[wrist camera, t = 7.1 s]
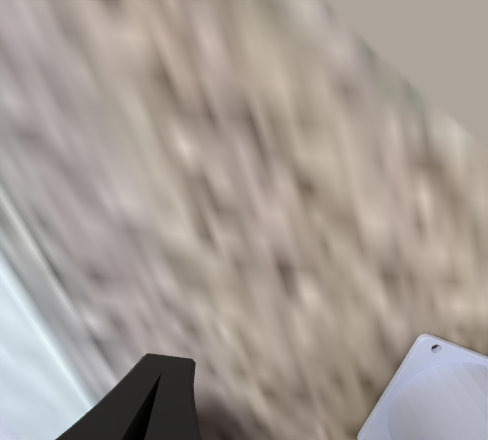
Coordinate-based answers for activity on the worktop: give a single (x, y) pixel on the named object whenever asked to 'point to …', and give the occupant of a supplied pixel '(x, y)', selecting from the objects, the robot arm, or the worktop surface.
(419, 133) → the worktop surface
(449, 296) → the worktop surface
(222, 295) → the worktop surface
